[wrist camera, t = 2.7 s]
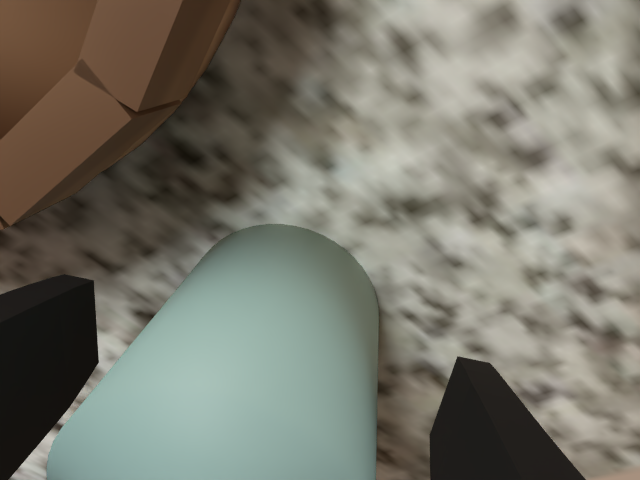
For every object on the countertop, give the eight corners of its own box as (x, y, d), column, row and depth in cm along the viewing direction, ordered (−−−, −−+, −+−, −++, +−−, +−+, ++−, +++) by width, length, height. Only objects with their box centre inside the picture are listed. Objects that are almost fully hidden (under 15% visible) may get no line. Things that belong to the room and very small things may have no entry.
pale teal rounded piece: (358, 403, 11) (341, 648, 7) (187, 367, 12) (60, 579, 7) (398, 246, 10) (412, 436, 5) (194, 206, 10) (28, 352, 5)
